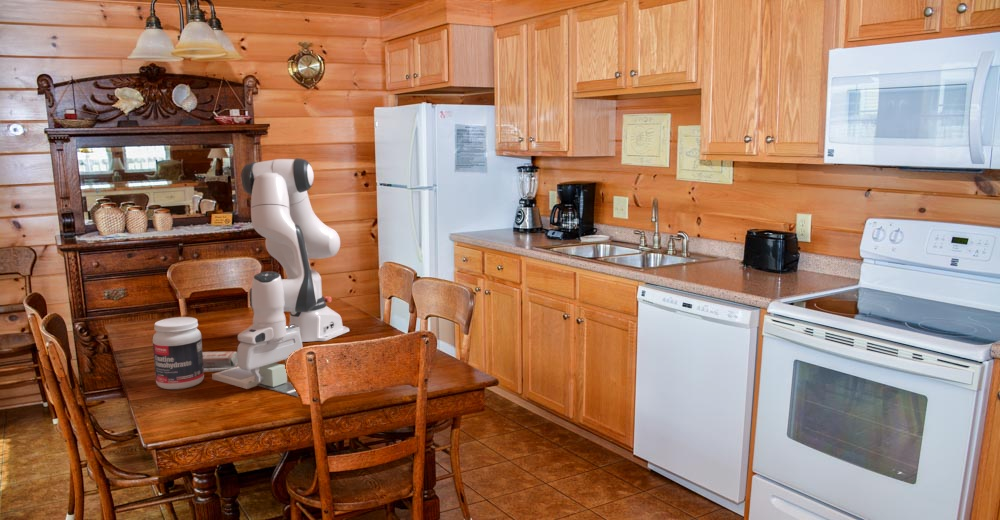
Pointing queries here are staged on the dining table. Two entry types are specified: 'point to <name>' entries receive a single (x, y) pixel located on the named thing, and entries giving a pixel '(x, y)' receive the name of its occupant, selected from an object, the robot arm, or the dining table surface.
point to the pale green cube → (273, 374)
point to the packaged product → (219, 361)
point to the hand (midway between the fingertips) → (272, 377)
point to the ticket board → (249, 380)
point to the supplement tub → (178, 353)
